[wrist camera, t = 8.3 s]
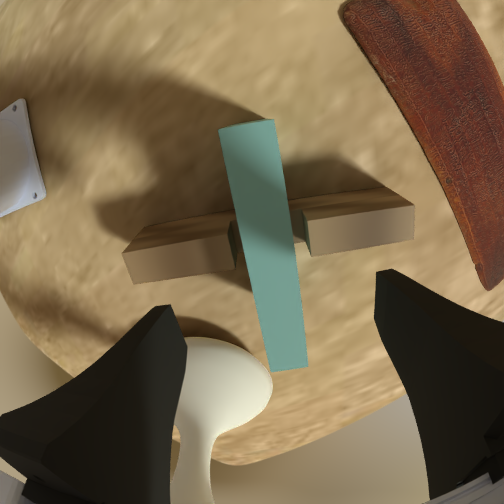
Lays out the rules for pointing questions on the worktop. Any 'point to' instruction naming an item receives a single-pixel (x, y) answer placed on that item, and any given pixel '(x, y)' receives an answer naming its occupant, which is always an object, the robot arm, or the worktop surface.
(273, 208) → the teal arch block
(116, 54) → the worktop surface
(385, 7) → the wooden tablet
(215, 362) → the flower in vase
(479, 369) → the robot arm
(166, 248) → the brown wooden bar
